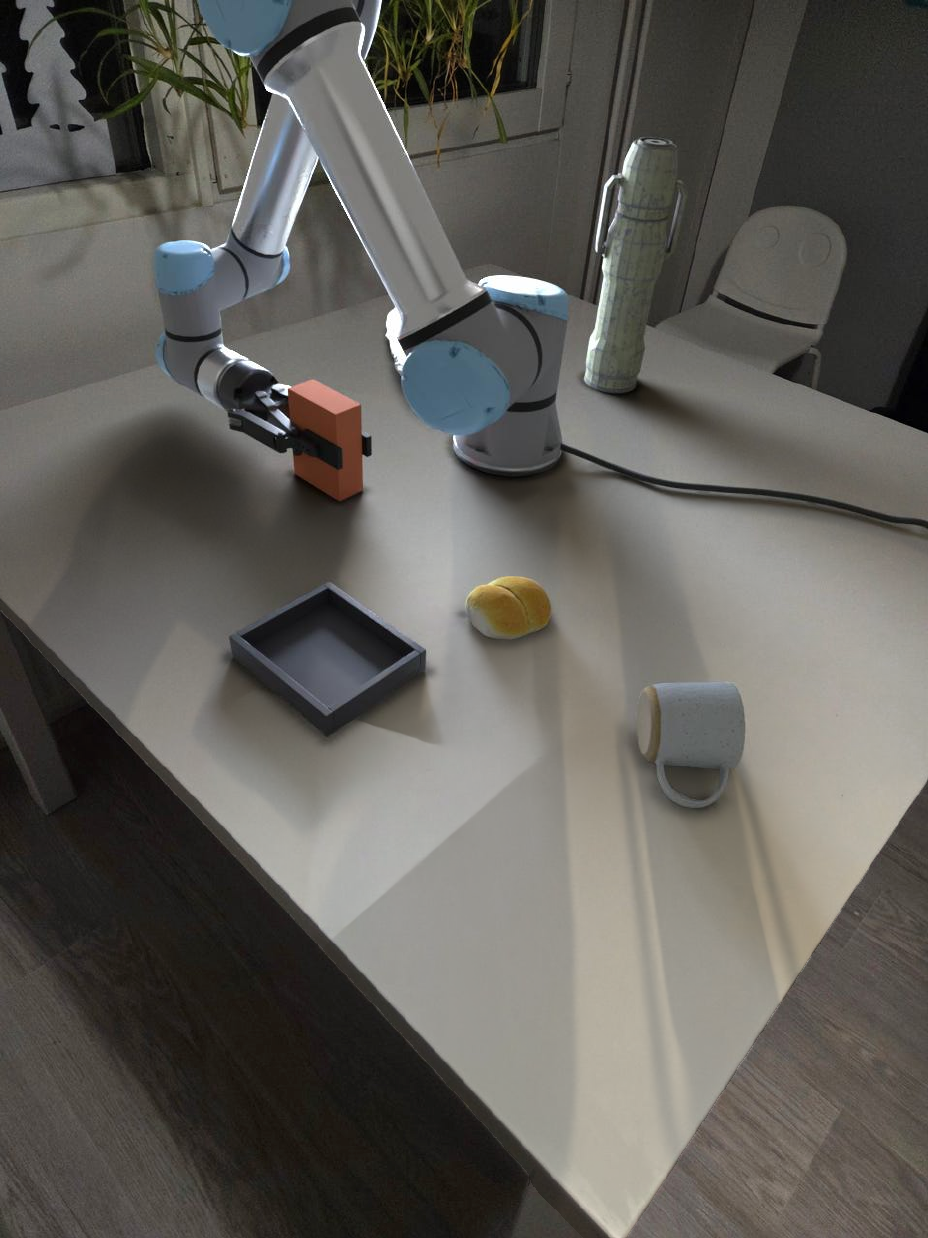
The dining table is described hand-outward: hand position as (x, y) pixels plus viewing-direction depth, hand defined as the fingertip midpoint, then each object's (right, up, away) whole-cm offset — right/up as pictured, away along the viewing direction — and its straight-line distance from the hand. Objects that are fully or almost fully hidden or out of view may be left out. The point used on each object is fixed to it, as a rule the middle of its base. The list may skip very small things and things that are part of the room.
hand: (354, 452), depth 100 cm
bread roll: (+18, -20, -11) cm, 29 cm away
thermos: (+37, +19, +35) cm, 55 cm away
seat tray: (0, -25, -18) cm, 31 cm away
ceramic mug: (+33, -34, -25) cm, 54 cm away
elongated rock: (+6, +23, +37) cm, 44 cm away
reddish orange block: (-4, -2, +7) cm, 9 cm away
